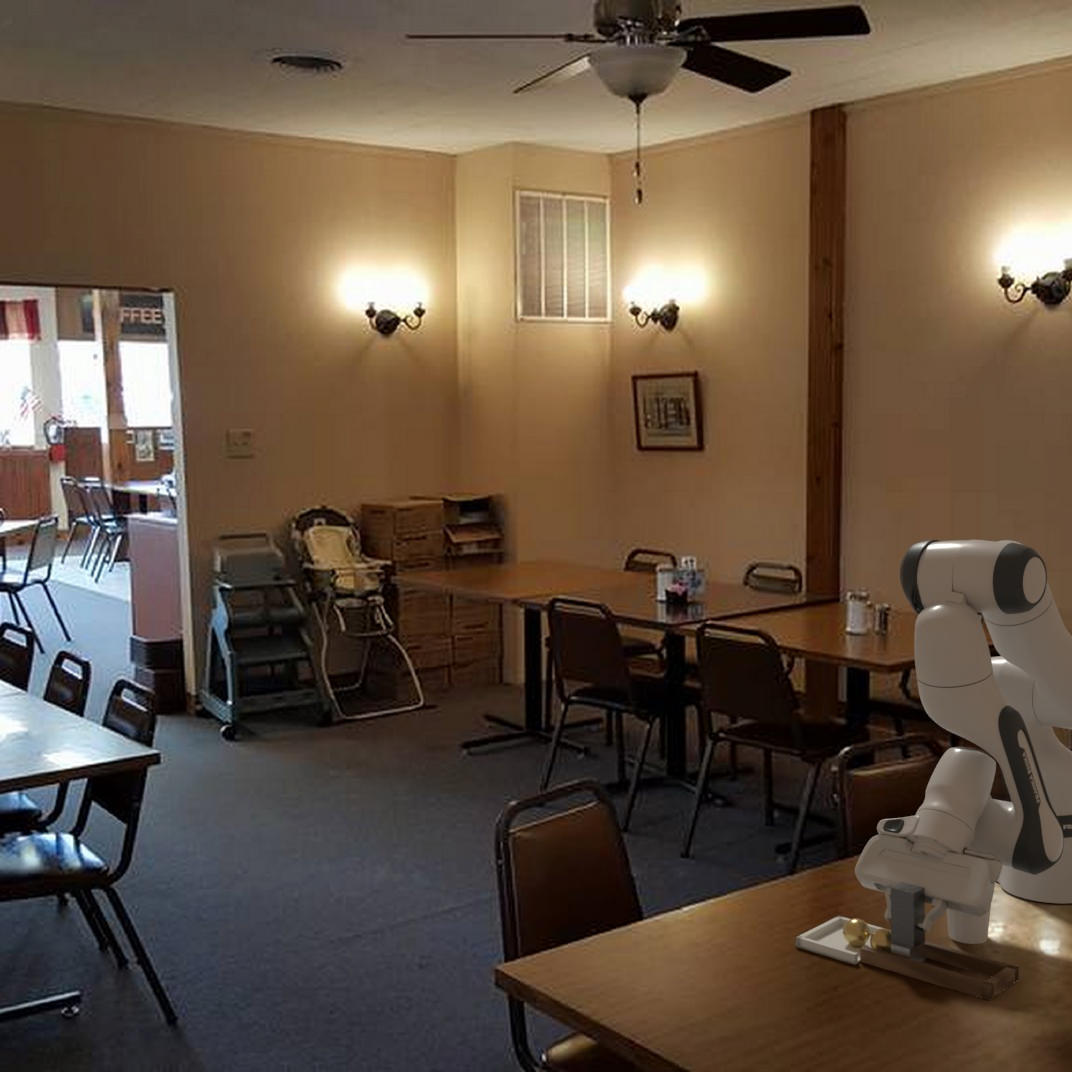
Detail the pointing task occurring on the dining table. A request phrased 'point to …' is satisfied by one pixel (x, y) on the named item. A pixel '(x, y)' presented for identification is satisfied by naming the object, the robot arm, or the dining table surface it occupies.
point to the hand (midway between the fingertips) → (905, 925)
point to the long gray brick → (907, 921)
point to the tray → (832, 941)
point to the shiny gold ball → (856, 932)
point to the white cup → (967, 927)
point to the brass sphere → (881, 940)
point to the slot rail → (987, 989)
